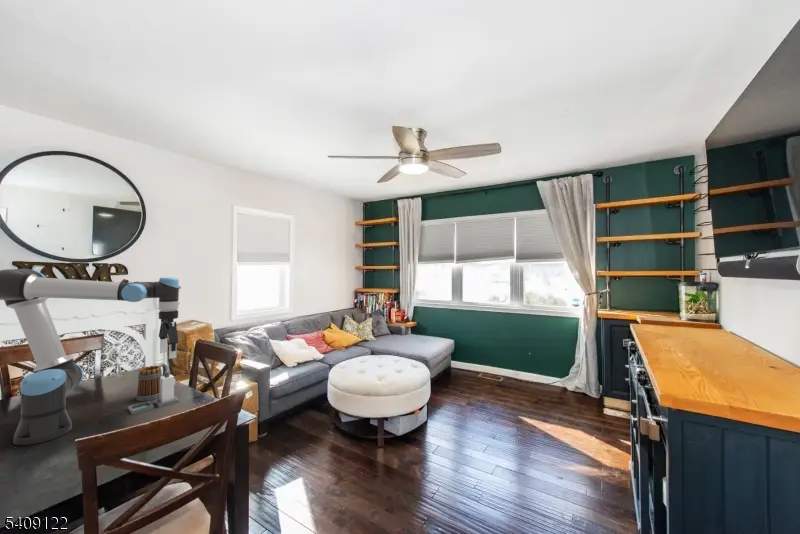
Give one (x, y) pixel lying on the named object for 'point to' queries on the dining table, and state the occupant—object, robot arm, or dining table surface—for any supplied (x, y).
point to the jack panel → (149, 405)
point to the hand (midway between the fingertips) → (167, 355)
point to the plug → (167, 388)
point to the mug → (150, 382)
